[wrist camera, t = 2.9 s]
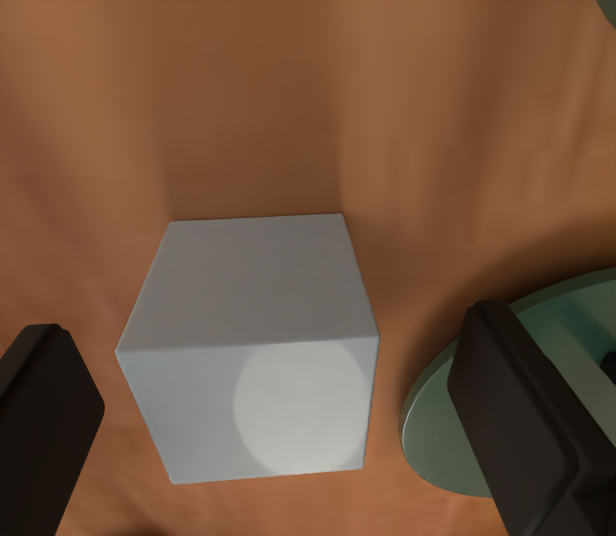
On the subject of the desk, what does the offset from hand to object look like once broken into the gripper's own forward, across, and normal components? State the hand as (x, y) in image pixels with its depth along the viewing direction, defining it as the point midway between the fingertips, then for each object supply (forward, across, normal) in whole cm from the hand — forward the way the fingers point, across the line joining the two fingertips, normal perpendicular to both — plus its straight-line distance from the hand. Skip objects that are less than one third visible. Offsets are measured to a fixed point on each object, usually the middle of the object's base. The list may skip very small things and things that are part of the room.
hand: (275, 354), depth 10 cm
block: (+2, 0, 0) cm, 2 cm away
